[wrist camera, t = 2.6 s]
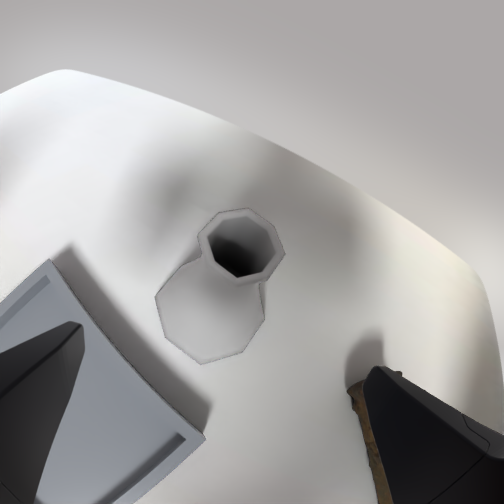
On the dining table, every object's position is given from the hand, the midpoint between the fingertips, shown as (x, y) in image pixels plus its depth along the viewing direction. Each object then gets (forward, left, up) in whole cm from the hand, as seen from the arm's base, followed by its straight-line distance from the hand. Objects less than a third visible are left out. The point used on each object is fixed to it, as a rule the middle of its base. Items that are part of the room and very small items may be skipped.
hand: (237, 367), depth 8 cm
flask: (+4, +3, -11) cm, 12 cm away
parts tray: (-10, +5, -11) cm, 16 cm away
